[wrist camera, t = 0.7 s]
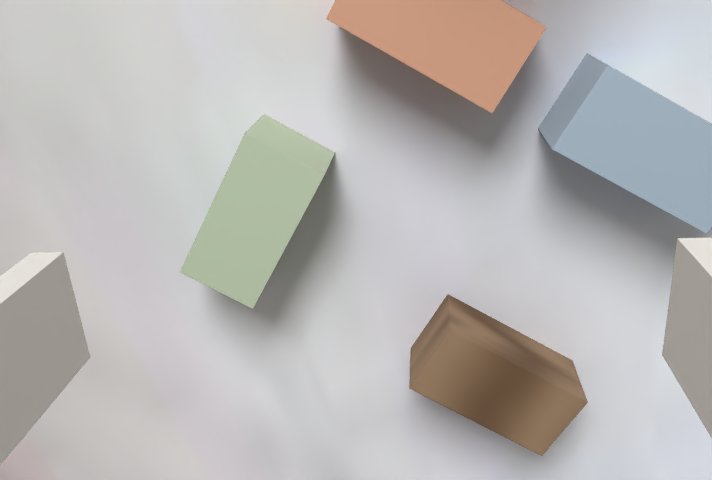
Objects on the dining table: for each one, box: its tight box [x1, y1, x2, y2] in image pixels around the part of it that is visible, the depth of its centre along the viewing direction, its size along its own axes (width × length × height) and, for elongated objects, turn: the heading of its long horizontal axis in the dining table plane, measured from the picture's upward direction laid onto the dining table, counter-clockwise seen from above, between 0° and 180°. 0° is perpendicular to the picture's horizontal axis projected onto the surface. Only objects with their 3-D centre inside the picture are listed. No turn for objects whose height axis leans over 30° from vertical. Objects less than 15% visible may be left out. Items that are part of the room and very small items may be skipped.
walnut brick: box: [409, 295, 588, 456], centre depth 36 cm, size 8×4×4 cm, turn 62°
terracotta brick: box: [326, 0, 547, 113], centre depth 29 cm, size 8×4×4 cm, turn 62°
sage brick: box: [180, 114, 335, 309], centre depth 33 cm, size 8×4×4 cm, turn 152°
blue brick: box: [538, 53, 712, 234], centre depth 30 cm, size 8×4×4 cm, turn 63°
